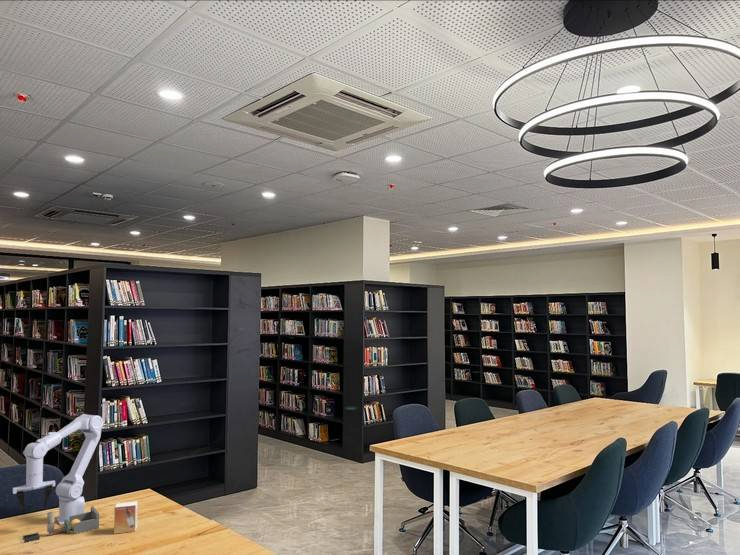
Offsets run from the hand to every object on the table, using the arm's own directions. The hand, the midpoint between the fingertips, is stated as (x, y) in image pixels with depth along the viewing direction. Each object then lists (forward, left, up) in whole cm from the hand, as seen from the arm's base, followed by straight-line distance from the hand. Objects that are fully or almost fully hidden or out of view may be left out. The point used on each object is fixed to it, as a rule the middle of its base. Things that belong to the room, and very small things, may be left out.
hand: (33, 507), depth 220 cm
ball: (-14, +7, -8) cm, 17 cm away
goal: (-17, +7, -10) cm, 21 cm away
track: (+1, +7, -10) cm, 12 cm away
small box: (-30, +22, -10) cm, 38 cm away
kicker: (-9, +7, -10) cm, 15 cm away
